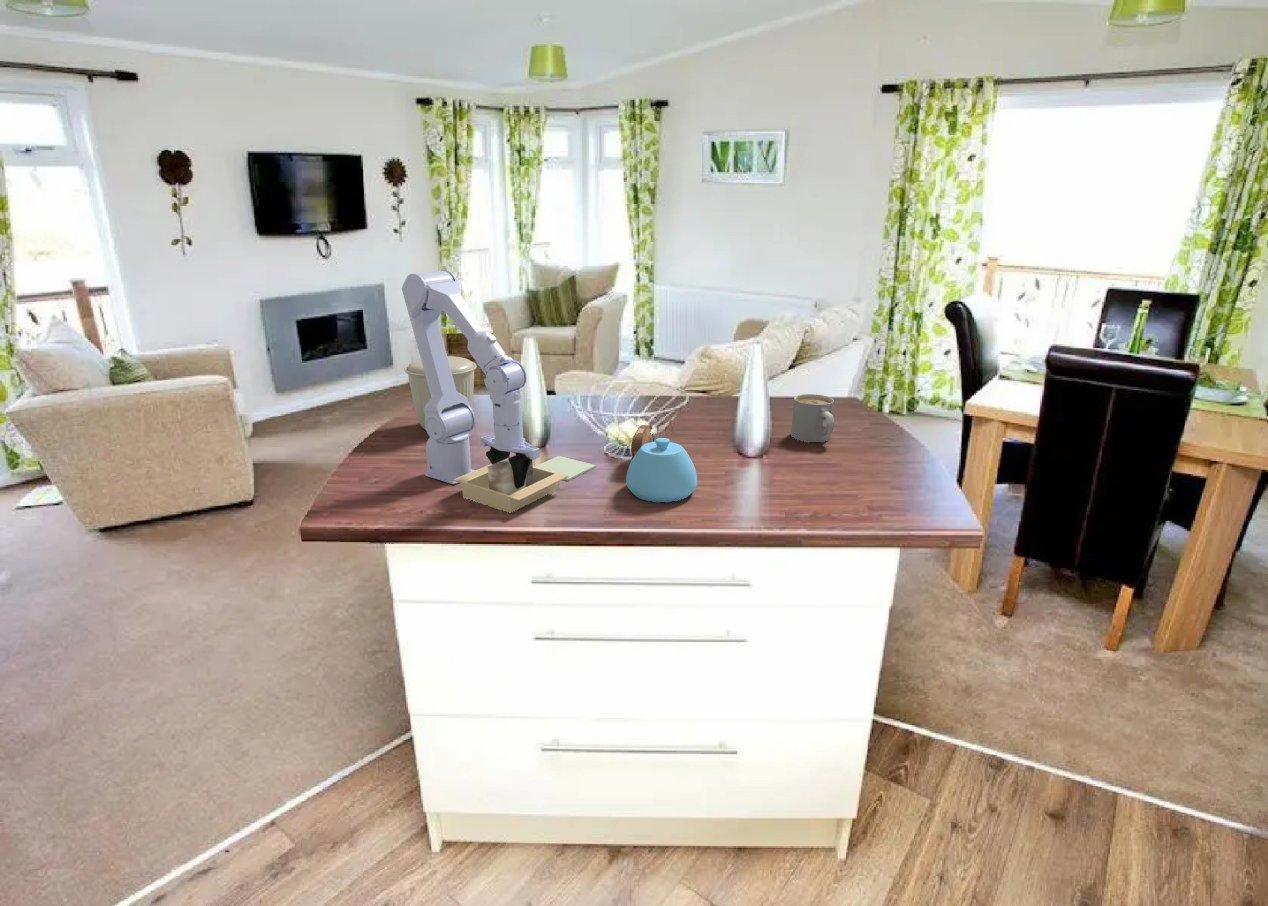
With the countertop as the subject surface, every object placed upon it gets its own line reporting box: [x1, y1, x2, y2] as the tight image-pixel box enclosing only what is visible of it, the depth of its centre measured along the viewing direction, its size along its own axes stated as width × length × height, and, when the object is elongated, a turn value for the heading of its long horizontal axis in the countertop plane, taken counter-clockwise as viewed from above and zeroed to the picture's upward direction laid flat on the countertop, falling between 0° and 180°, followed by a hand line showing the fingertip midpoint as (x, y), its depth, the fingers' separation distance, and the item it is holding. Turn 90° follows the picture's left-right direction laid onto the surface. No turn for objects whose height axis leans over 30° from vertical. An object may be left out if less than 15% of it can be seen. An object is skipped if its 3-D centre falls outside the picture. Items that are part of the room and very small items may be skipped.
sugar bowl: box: [625, 437, 698, 503], centre depth 153 cm, size 15×15×12 cm
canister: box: [404, 352, 478, 431], centre depth 191 cm, size 18×18×21 cm
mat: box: [534, 455, 597, 482], centre depth 167 cm, size 11×10×1 cm
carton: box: [453, 463, 569, 514], centre depth 153 cm, size 18×15×4 cm
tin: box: [630, 424, 655, 460], centre depth 169 cm, size 15×3×8 cm, turn 168°
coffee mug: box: [790, 393, 835, 443], centre depth 186 cm, size 13×10×10 cm
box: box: [488, 454, 534, 495], centre depth 152 cm, size 4×9×7 cm, turn 146°
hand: (511, 484), depth 153 cm, fingers closed on box, 4 cm apart
